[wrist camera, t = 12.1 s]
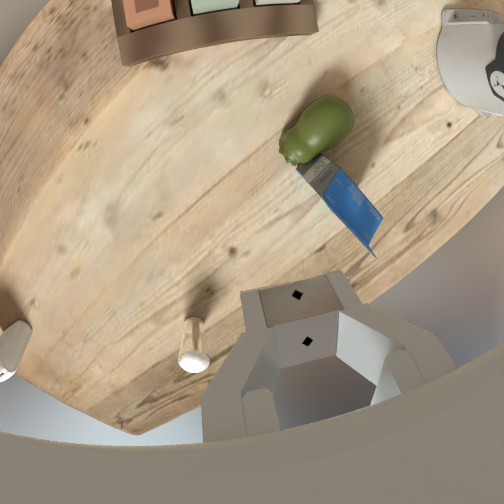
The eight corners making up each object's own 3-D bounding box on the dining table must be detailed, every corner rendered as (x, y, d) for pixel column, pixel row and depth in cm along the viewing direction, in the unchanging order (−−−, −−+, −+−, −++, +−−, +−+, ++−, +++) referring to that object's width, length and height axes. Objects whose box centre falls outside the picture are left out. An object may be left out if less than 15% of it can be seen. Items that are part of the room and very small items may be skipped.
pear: (369, 127, 30) (304, 183, 34) (353, 115, 34) (297, 165, 38) (337, 90, 27) (269, 151, 32) (324, 83, 31) (266, 137, 36)
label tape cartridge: (355, 192, 40) (402, 235, 29) (336, 211, 41) (377, 259, 30) (314, 148, 36) (358, 179, 25) (293, 169, 37) (328, 208, 27)
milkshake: (191, 305, 46) (190, 355, 38) (213, 324, 49) (216, 373, 40) (170, 319, 47) (166, 368, 39) (193, 336, 50) (193, 384, 41)
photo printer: (14, 344, 47) (-5, 389, 36) (1, 331, 44) (-21, 376, 34) (36, 331, 45) (15, 381, 35) (21, 316, 43) (-4, 365, 33)
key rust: (170, -10, 23) (165, -23, 18) (176, 22, 25) (171, 12, 21) (131, 1, 22) (121, -10, 18) (137, 33, 25) (126, 26, 21)
